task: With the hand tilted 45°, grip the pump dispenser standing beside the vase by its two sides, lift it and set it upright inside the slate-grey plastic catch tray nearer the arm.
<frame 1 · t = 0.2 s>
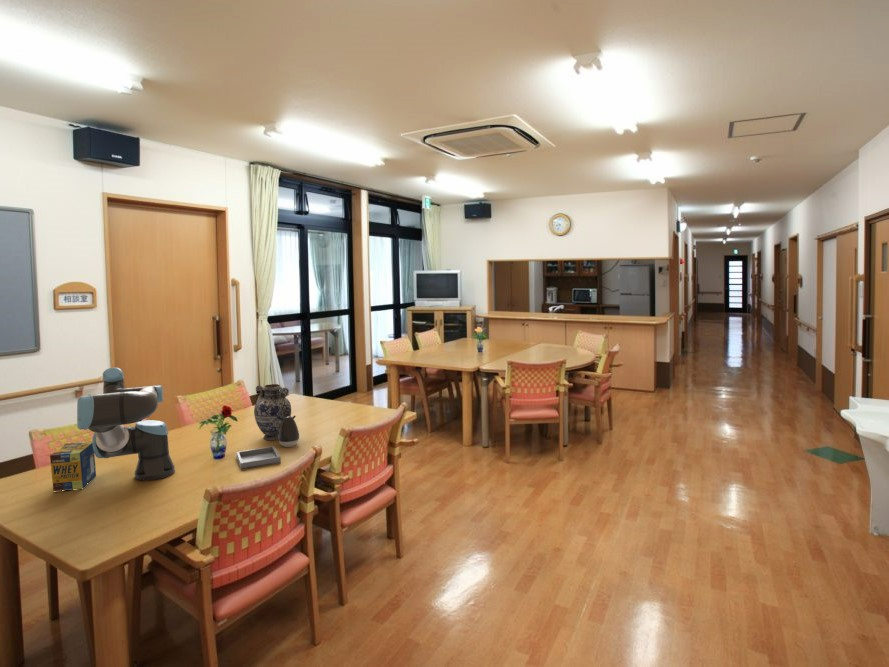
hand: (122, 427, 245), 15 cm above the table, tool tilted 35°, fingers open, 13 cm apart
catch tray: (258, 460, 243), on the table
protein box: (75, 484, 217), on the table
decorative vase: (274, 437, 278), on the table
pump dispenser: (289, 445, 264), on the table
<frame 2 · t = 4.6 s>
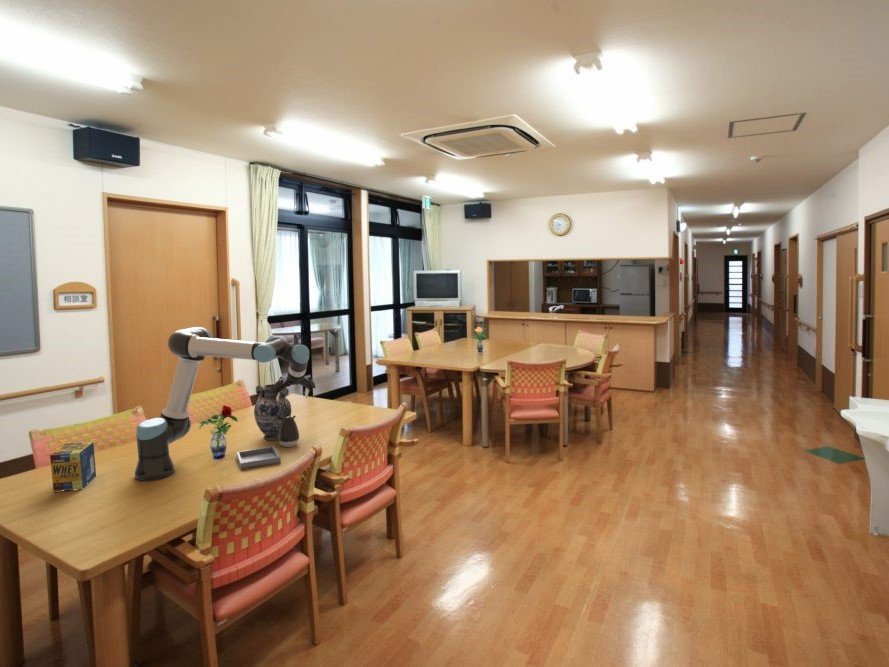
hand: (291, 397, 252), 27 cm above the table, tool tilted 45°, fingers open, 13 cm apart
nothing on the table moved.
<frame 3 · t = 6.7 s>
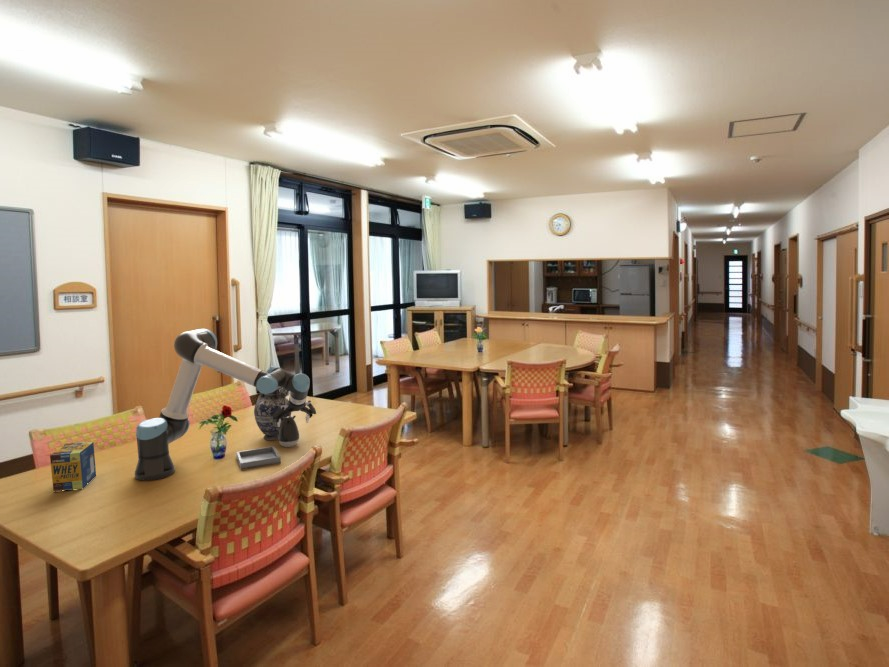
hand: (292, 422, 256), 14 cm above the table, tool tilted 45°, fingers open, 13 cm apart
nothing on the table moved.
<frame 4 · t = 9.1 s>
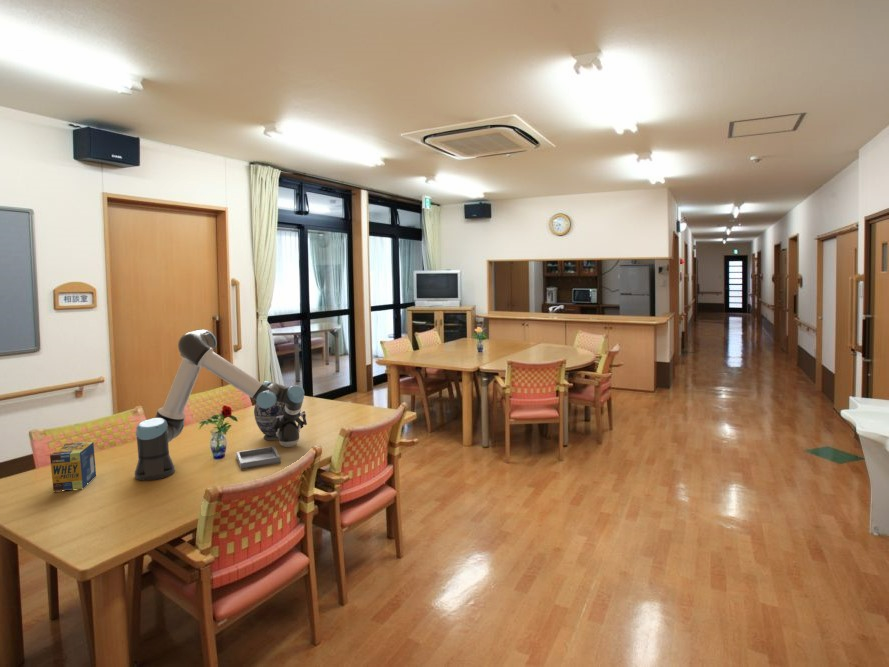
hand: (287, 432, 266), 6 cm above the table, tool tilted 45°, fingers closed on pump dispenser, 10 cm apart
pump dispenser: (289, 445, 264), on the table, touching gripper
everything else where it was.
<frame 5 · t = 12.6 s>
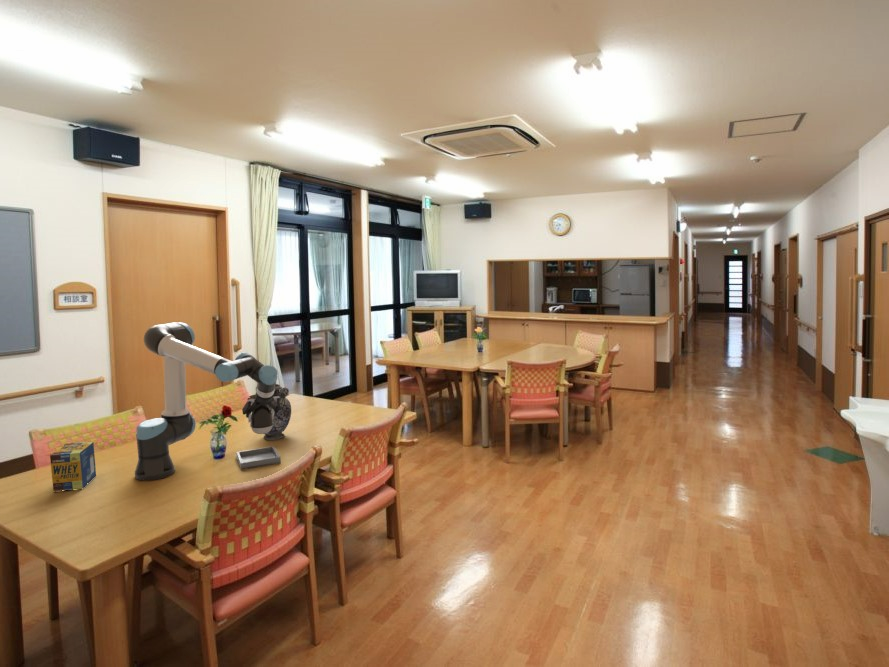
hand: (260, 418, 246), 18 cm above the table, tool tilted 45°, fingers closed on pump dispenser, 10 cm apart
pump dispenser: (262, 432, 244), point 12 cm above the table, touching gripper
everything else where it was.
when the fingers open (8 cm above the table, at t = 16.0 s): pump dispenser drops 1 cm, resting on catch tray.
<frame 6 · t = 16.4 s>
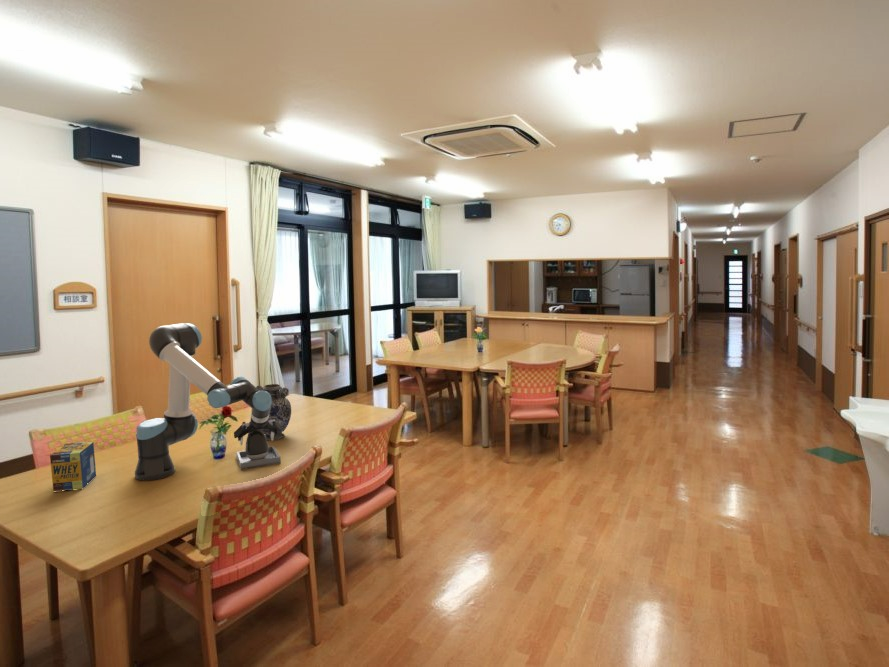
hand: (256, 440, 244), 9 cm above the table, tool tilted 45°, fingers open, 13 cm apart
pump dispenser: (258, 459, 243), point 1 cm above the table, touching catch tray
everything else where it was.
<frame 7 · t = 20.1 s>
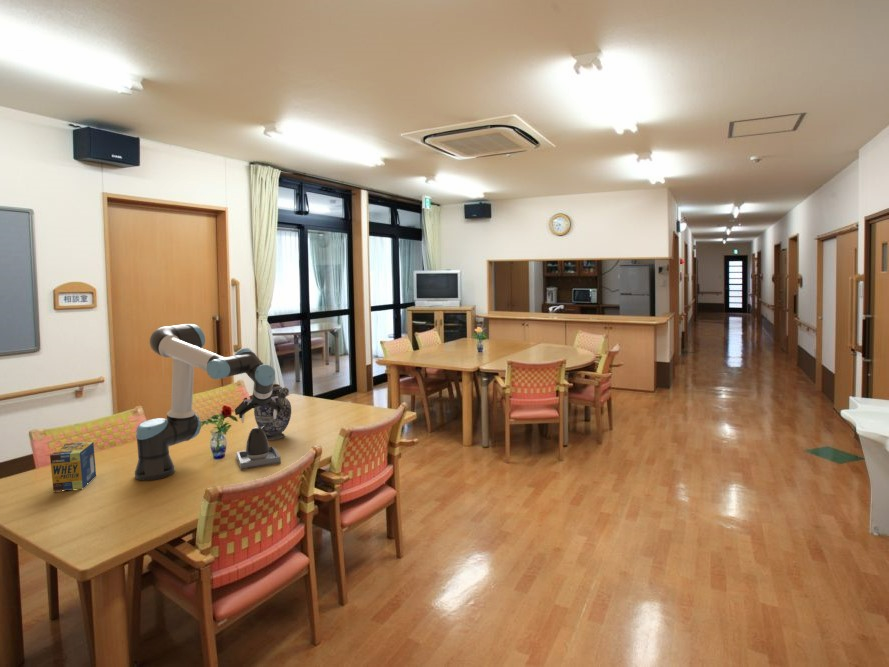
hand: (258, 418, 233), 22 cm above the table, tool tilted 45°, fingers open, 13 cm apart
nothing on the table moved.
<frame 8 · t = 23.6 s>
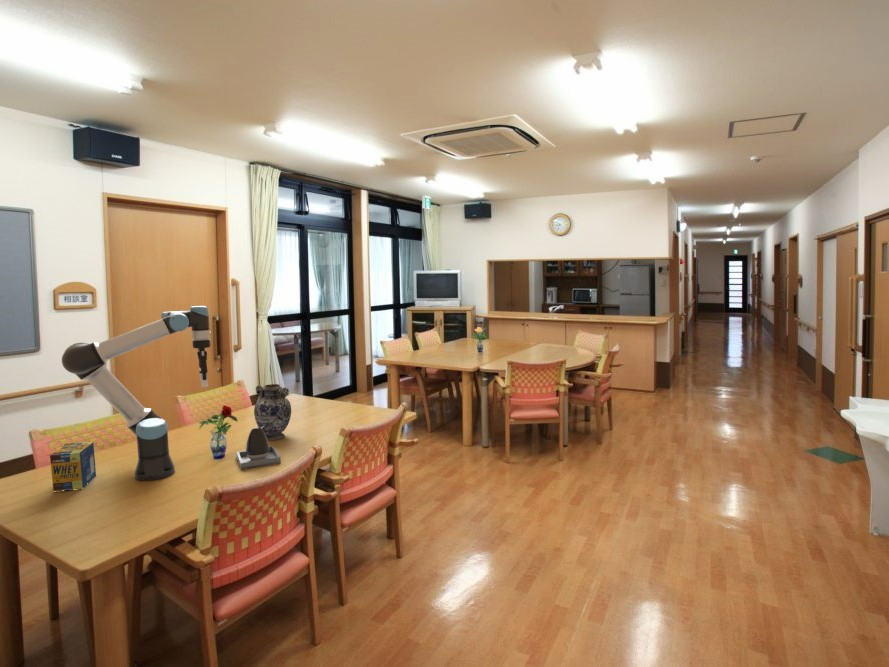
hand: (204, 384, 247), 35 cm above the table, tool pointing down, fingers open, 13 cm apart
nothing on the table moved.
at the end: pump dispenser 0.1 cm off-centre on the catch tray, point 0.6 cm above the catch tray's base; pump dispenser tilted 0°; the gripper is holding nothing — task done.
